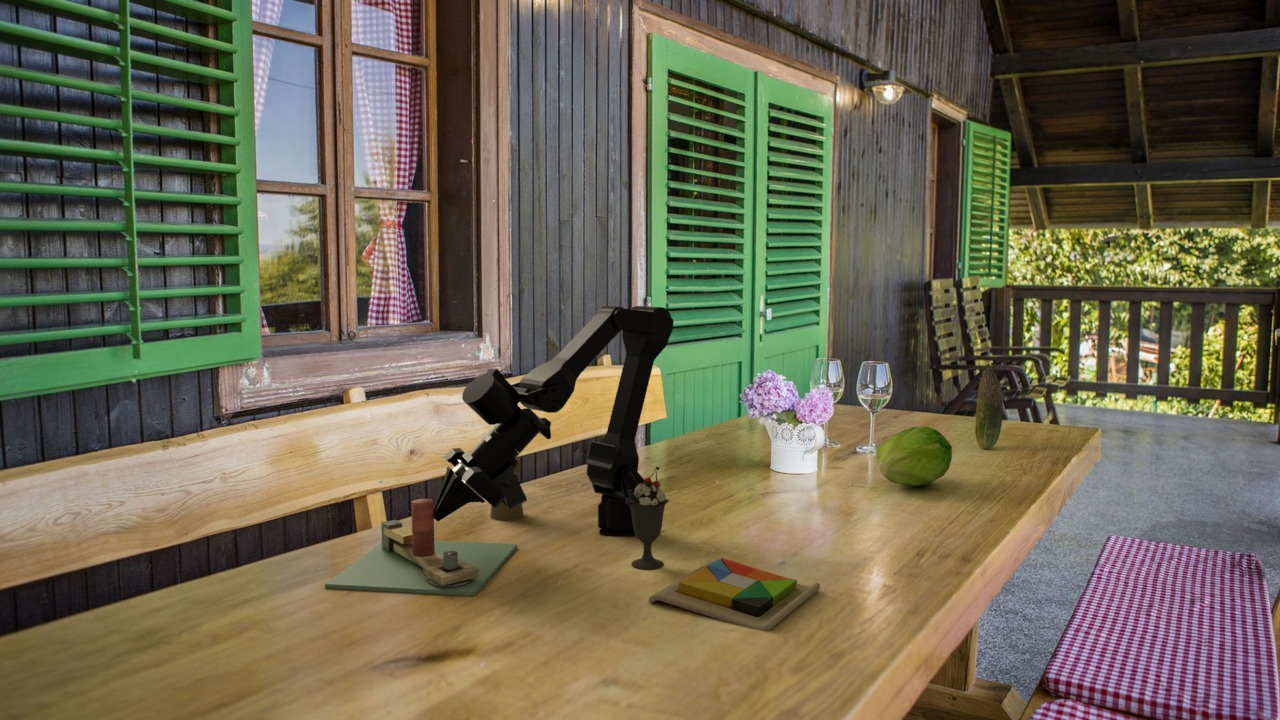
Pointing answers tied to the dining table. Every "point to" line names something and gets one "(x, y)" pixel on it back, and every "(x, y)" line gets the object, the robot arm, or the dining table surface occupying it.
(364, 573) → the latch board
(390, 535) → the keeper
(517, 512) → the cork
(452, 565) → the pintle
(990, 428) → the vegetable
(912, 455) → the green oval lump
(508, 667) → the dining table surface
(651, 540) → the sundae
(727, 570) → the wooden puzzle
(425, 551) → the latch bar
